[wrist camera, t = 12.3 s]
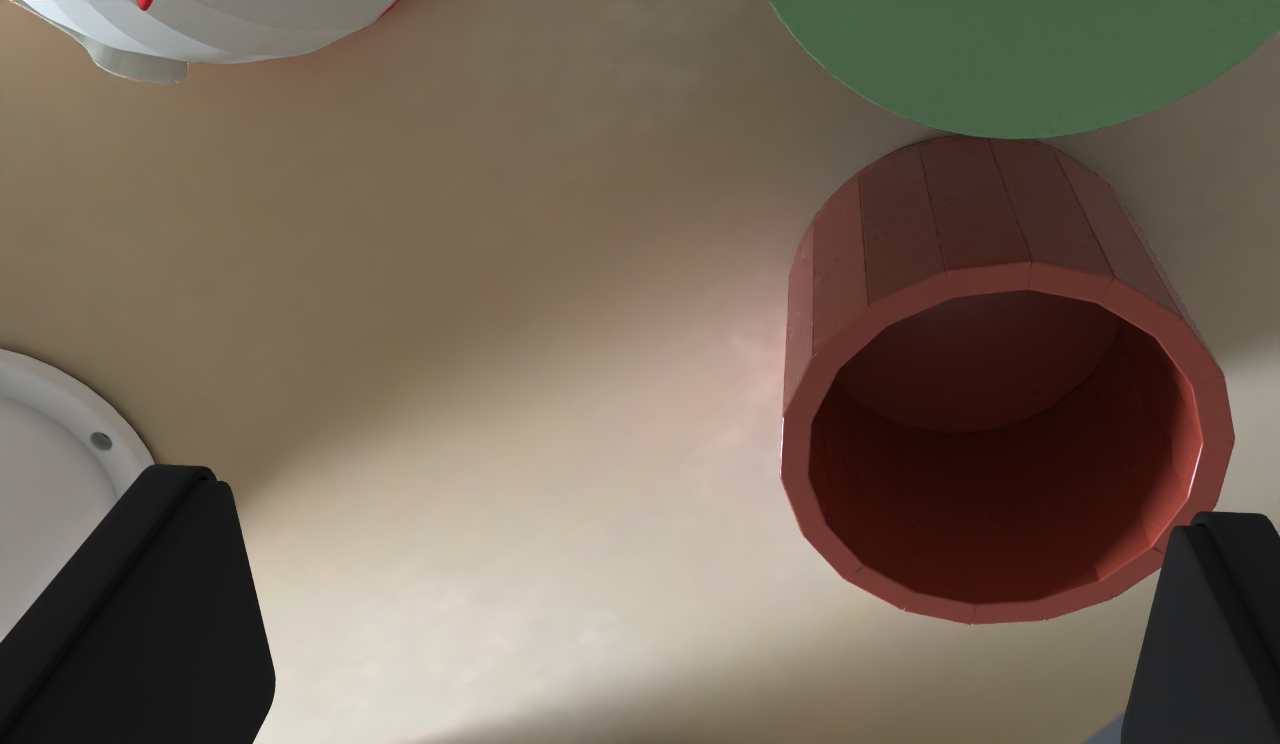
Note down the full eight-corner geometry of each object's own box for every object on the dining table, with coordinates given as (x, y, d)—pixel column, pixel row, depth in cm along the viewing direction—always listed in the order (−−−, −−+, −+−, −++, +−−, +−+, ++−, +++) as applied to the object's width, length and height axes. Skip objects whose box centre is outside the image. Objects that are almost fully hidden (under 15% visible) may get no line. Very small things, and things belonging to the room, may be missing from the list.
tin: (781, 435, 43) (772, 611, 35) (796, 126, 38) (791, 251, 29) (1109, 453, 42) (1178, 641, 34) (1180, 135, 36) (1284, 270, 28)
